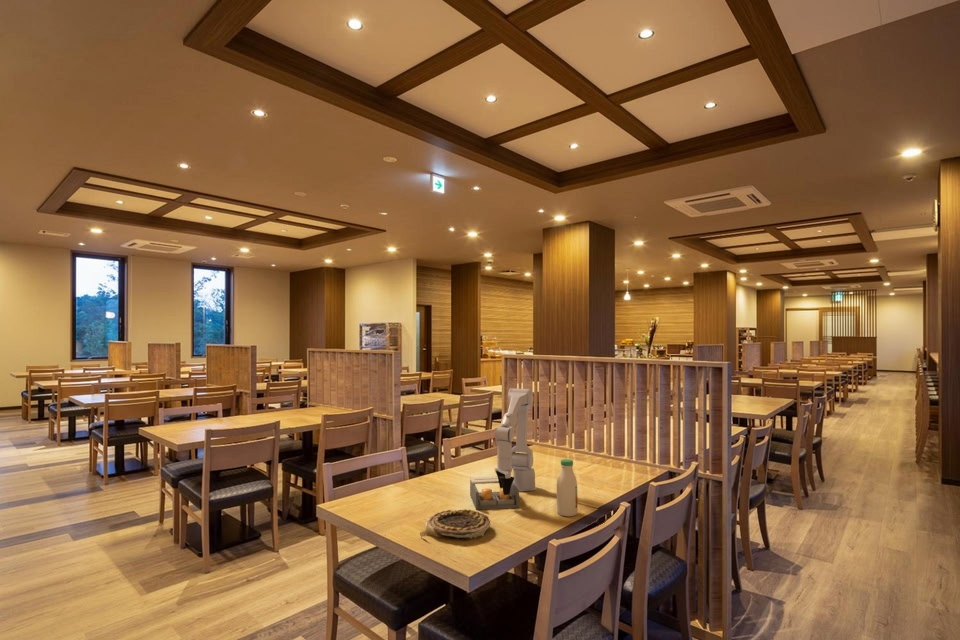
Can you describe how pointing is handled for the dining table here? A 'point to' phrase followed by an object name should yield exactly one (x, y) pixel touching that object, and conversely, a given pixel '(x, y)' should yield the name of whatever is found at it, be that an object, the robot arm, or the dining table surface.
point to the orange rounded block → (502, 496)
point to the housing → (493, 498)
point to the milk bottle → (566, 490)
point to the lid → (484, 480)
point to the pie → (457, 524)
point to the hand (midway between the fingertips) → (504, 491)
